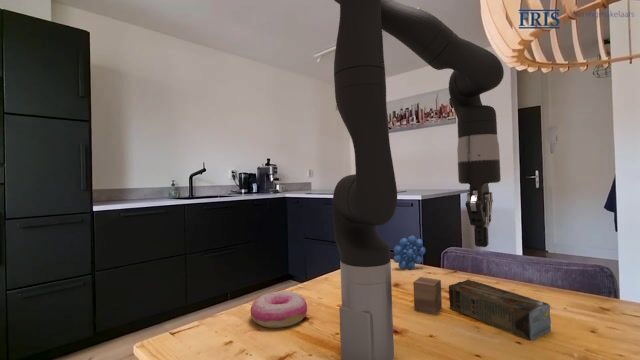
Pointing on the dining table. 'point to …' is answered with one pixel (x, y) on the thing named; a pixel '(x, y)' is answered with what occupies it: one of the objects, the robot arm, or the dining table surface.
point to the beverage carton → (501, 308)
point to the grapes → (409, 252)
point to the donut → (279, 309)
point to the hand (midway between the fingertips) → (481, 246)
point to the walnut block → (427, 295)
